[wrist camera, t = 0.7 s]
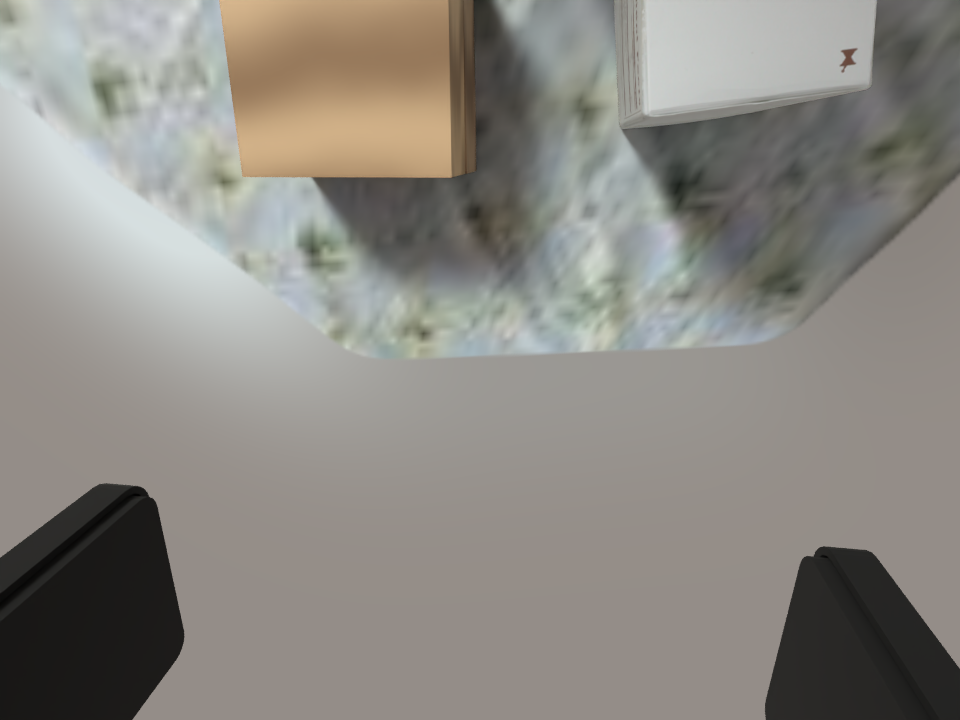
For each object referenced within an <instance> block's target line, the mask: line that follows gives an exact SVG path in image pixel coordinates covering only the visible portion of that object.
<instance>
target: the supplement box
mask: <svg viewBox="0 0 960 720" xmlns="http://www.w3.org/2000/svg"><path fill="white" fill-rule="evenodd" d="M876 6H877V0H614V16H615V42H616V65H617V88H618V109H619V124H620V128H621V129H630V128H642V127H653V126H663V125H672V124H681V123H689V122H696V121H703V120H710V119H717V118H724V117H730V116H735V115H741V114H747V113H754V112H758V111H763V110H767V109H772V108H777V107H782V106H787V105H792V104H797V103H802V102H807V101H813V100H818V99H823V98H828V97H833V96H838V95H843V94H848V93H853V92H858V91H863V90H867V89H869V88H870V87H871V86H872V68H873V51H874V35H875V19H876Z"/></svg>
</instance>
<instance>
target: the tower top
mask: <svg viewBox="0 0 960 720" xmlns="http://www.w3.org/2000/svg"><path fill="white" fill-rule="evenodd" d="M219 2H220V9H221V17H222V24H223V32H224V39H225V47H226V54H227V62H228V70H229V77H230V85H231V92H232V100H233V107H234V115H235V123H236V130H237V138H238V145H239V153H240V160H241V168H242V176H243V177H412V178H452V177H456V176H459V175H463V174H465V120H464V28H463V0H219Z"/></svg>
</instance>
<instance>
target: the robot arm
mask: <svg viewBox="0 0 960 720" xmlns="http://www.w3.org/2000/svg"><path fill="white" fill-rule="evenodd" d="M183 642H184V629H183V624H182V620H181V615H180V610H179V606H178V601H177V596H176V592H175V587H174V582H173V578H172V573H171V569H170V563H169V559H168V555H167V549H166V545H165V540H164V535H163V531H162V526H161V522H160V517H159V512H158V507H157V504H156V502H155V501H154V499H153V498H150V497H149V496H148V493H147V492H146V490H145V489H144V488H142V487H138V486H130V485H118V484H107V483H106V484H99V485H97V486H96V487H94V488H92V489H91V490H90V491H88V492H87V493H86V494H84V495H83V496H82V497H80V498H79V499H78V500H76V501H75V502H74V503H72V504H71V505H70V506H68V507H67V508H66V509H65V510H63V511H62V512H60V513H59V514H58V515H56V516H55V517H54V518H52V519H51V520H50V521H48V522H47V523H46V524H44V525H43V526H42V527H41V528H39V529H38V530H36V531H35V532H34V533H33V534H32V535H30V536H29V537H27V538H26V539H25V540H23V541H22V542H21V543H19V544H18V545H17V546H15V547H14V548H13V549H11V550H10V551H9V552H7V553H6V554H5V555H3V556H2V557H1V558H0V720H132V719H133V718H134V717H135V715H136V714H137V712H138V711H139V710H140V708H141V707H142V706H143V704H144V703H145V702H146V700H147V699H148V697H149V696H150V695H151V693H152V692H153V691H154V689H155V688H156V687H157V685H158V684H159V683H160V681H161V680H162V678H163V677H164V676H165V674H166V673H167V672H168V670H169V669H170V668H171V666H172V665H173V663H174V662H175V661H176V659H177V658H178V656H179V654H180V652H181V649H182V646H183ZM765 715H766V720H960V669H959V667H958V666H957V665H956V663H955V662H954V661H953V659H952V658H951V657H950V655H949V654H948V653H947V651H946V650H945V648H944V647H943V646H942V644H941V643H940V642H939V640H938V639H937V638H936V636H935V635H934V634H933V632H932V631H931V630H930V628H929V627H928V626H927V624H926V623H925V622H924V620H923V619H922V618H921V616H920V615H919V614H918V612H917V611H916V610H915V608H914V607H913V606H912V604H911V603H910V602H909V600H908V599H907V598H906V596H905V595H904V594H903V592H902V591H901V589H900V588H899V587H898V585H897V584H896V583H895V581H894V580H893V579H892V577H891V576H890V575H889V573H888V572H887V571H886V569H885V568H884V567H883V565H882V564H881V563H880V561H879V560H878V559H877V558H876V556H875V555H874V554H873V553H872V552H869V551H867V550H858V549H847V548H835V547H820V548H818V550H817V551H816V552H815V555H814V557H811V556H806V557H804V558H803V559H802V561H801V564H800V567H799V570H798V574H797V578H796V582H795V587H794V590H793V594H792V598H791V602H790V606H789V610H788V614H787V618H786V622H785V626H784V630H783V634H782V638H781V642H780V646H779V650H778V654H777V658H776V662H775V666H774V670H773V674H772V678H771V682H770V686H769V690H768V694H767V698H766V703H765Z"/></svg>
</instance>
